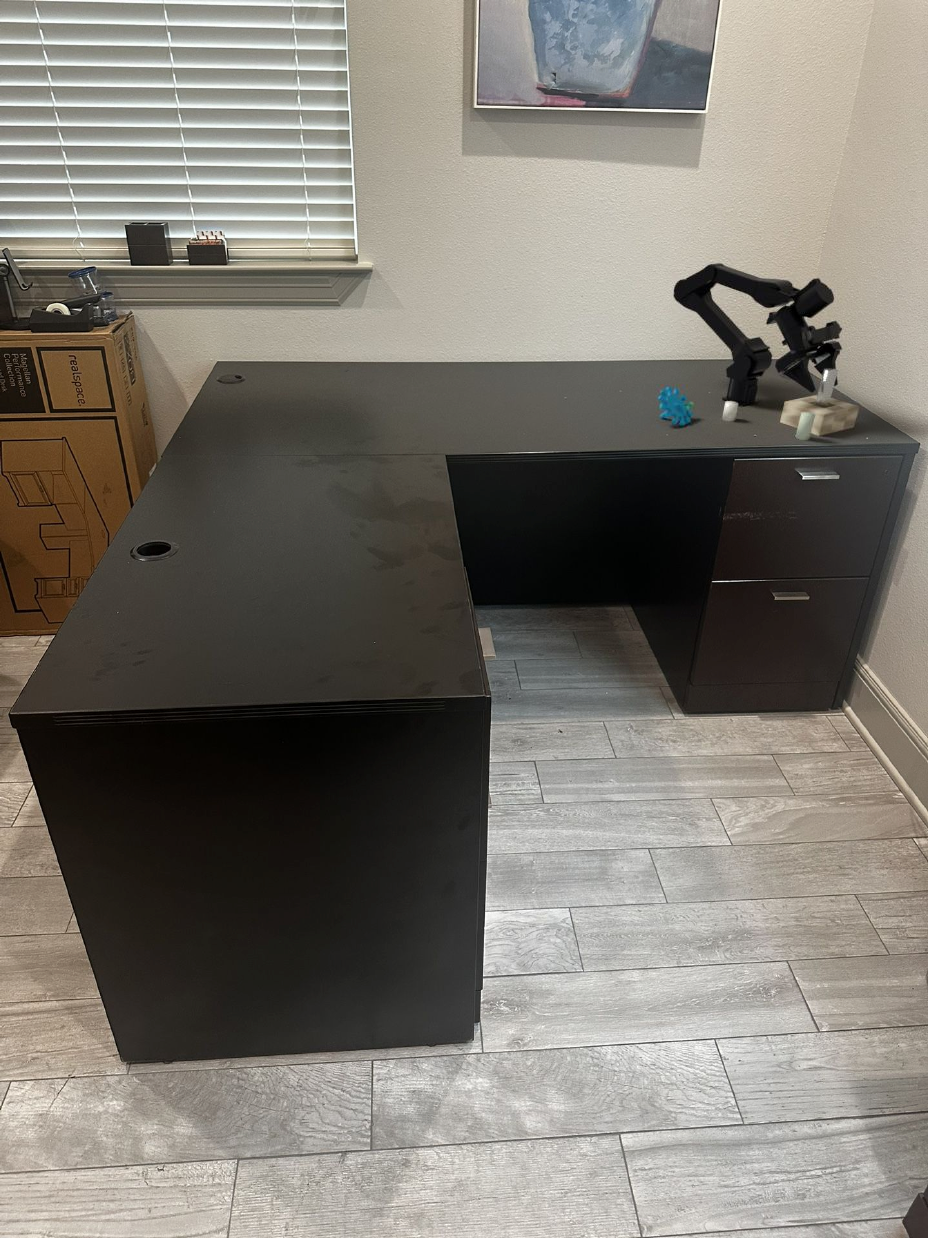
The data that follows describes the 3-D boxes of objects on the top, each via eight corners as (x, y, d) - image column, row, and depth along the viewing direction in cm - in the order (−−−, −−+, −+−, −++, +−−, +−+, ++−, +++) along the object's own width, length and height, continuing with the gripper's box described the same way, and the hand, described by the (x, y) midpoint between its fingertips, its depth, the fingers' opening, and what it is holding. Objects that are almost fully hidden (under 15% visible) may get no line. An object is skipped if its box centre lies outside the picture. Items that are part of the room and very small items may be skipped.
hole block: (779, 422, 199) (784, 401, 196) (814, 414, 205) (819, 394, 203) (818, 435, 191) (824, 414, 189) (853, 427, 197) (859, 406, 195)
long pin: (811, 426, 197) (825, 370, 190) (809, 422, 200) (822, 367, 193) (824, 427, 197) (838, 371, 190) (822, 423, 199) (836, 368, 192)
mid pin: (792, 436, 190) (798, 413, 187) (801, 434, 192) (807, 411, 189) (803, 440, 188) (809, 417, 185) (812, 438, 189) (818, 415, 187)
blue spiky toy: (670, 423, 191) (656, 384, 192) (653, 436, 195) (640, 397, 197) (703, 422, 197) (689, 385, 198) (685, 435, 201) (672, 398, 203)
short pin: (719, 418, 200) (722, 402, 198) (728, 416, 202) (731, 400, 200) (728, 422, 198) (732, 405, 196) (737, 420, 200) (740, 403, 197)
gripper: (799, 313, 184) (831, 375, 182) (845, 304, 194) (876, 363, 192) (761, 342, 193) (791, 401, 191) (807, 332, 203) (835, 389, 201)
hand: (824, 388), depth 194 cm, fingers open, 9 cm apart
